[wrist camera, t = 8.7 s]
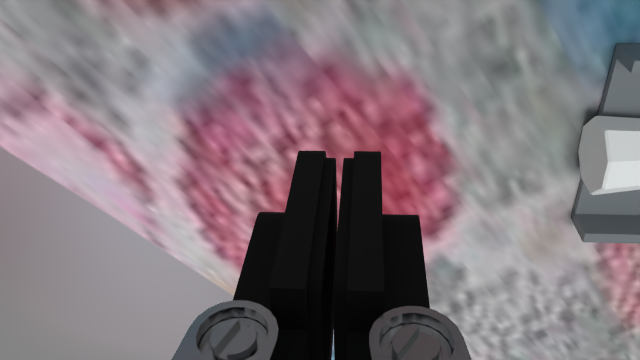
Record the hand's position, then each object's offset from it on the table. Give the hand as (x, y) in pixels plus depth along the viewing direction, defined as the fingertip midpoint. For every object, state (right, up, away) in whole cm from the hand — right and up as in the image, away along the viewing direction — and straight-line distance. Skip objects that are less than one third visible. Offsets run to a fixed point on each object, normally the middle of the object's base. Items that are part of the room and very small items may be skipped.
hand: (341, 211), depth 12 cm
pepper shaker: (+18, +2, +26) cm, 32 cm away
